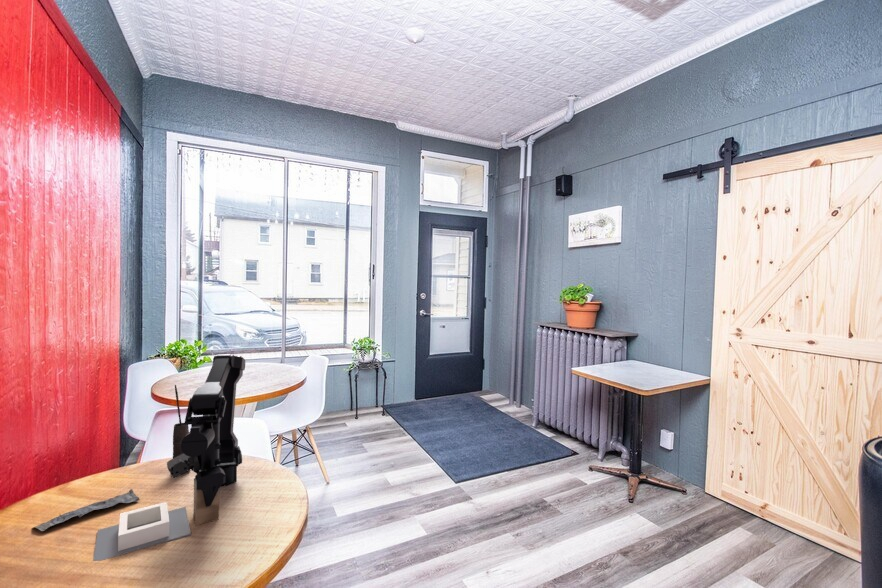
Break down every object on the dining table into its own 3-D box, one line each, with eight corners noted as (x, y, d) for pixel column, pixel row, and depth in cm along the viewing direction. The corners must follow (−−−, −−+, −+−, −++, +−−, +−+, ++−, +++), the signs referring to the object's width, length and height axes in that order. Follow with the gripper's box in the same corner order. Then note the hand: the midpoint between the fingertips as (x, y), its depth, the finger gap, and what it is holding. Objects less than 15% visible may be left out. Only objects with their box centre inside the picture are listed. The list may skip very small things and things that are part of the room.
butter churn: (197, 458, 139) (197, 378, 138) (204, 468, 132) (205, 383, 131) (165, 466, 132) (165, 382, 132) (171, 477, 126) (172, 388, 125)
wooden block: (215, 509, 109) (215, 473, 109) (218, 520, 104) (219, 482, 104) (193, 515, 106) (193, 478, 106) (196, 527, 101) (196, 488, 101)
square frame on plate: (185, 510, 108) (185, 493, 108) (190, 537, 97) (190, 519, 97) (97, 533, 97) (98, 515, 97) (92, 567, 86) (92, 547, 86)
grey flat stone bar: (36, 536, 95) (36, 527, 95) (30, 527, 99) (30, 518, 99) (140, 501, 112) (140, 493, 112) (131, 494, 116) (131, 486, 116)
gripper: (167, 435, 107) (167, 492, 107) (171, 461, 92) (171, 528, 92) (214, 427, 114) (214, 481, 114) (226, 450, 99) (225, 512, 99)
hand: (206, 499), depth 105 cm, fingers open, 7 cm apart
